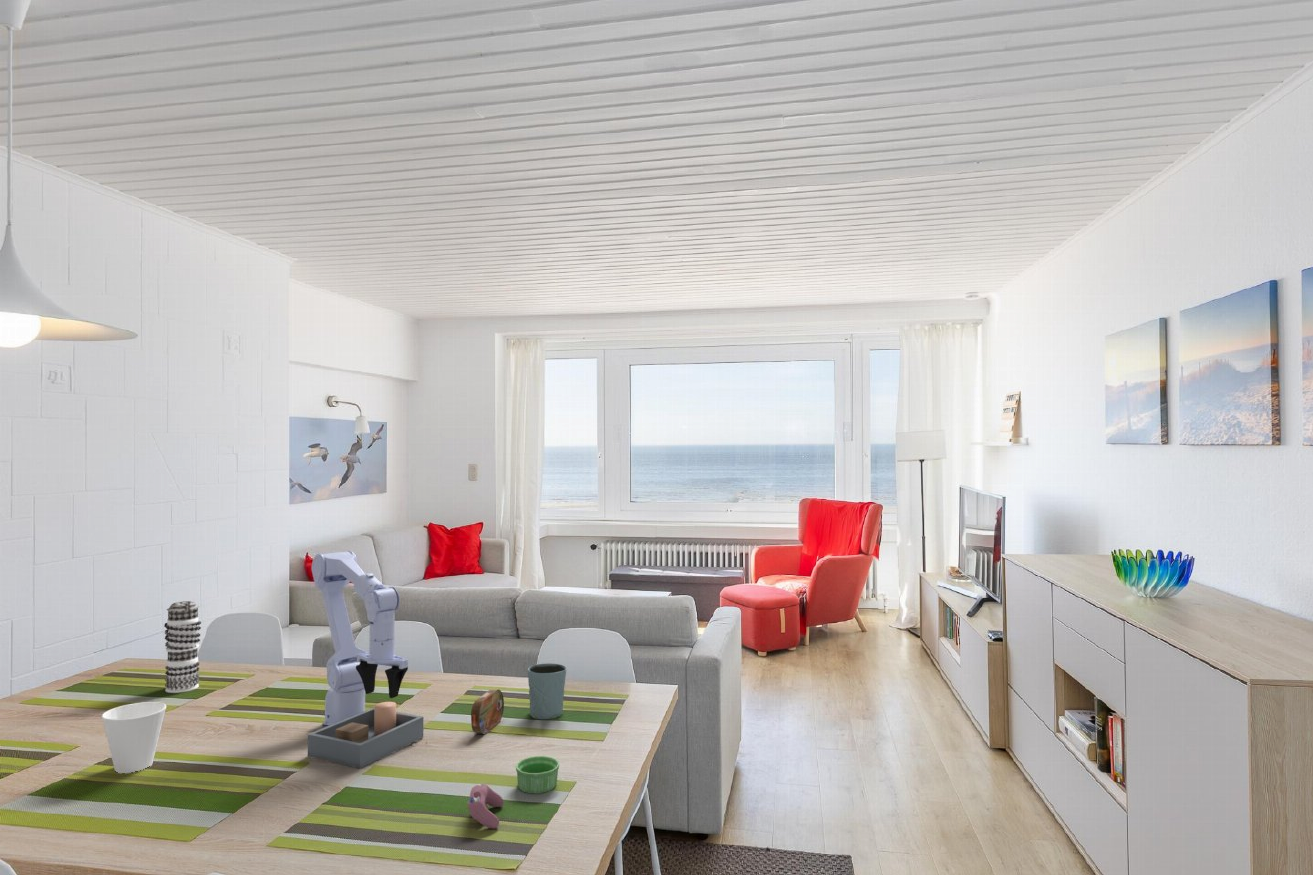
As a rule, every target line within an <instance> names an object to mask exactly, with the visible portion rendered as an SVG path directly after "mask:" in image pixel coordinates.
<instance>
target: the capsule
mask: <svg viewBox="0 0 1313 875" xmlns="http://www.w3.org/2000/svg"><path fill="white" fill-rule="evenodd" d="M373 708H374V736H378V735H380V734H382V733H384V732H386V731H389V730H391V729H393V728H395V727H396V712H397V703H396V702H394V701H382V702H378V703H376V704H375V705H374V707H373Z"/></svg>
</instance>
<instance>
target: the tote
mask: <svg viewBox="0 0 1313 875" xmlns="http://www.w3.org/2000/svg"><path fill="white" fill-rule="evenodd" d="M352 722H353V723H358V724H363V725H369V731H368V740H366V741H364V742H362V743H357V742H352V741H348V740H343V739H338V738H335V729H338V728H340V727H342V726H345V725H347V724H350V723H352ZM423 738H424V716H420V715H416V714H411V713H405V712H399V711H396V727H395V728H393V729H391V730H389V731H386V732H384V733H382V734H380V735H378V736H374V707H371V708H369V709H367V710H366V709H365V711H364V712H362V713H359V714H357V715H354V716H352V717H349V718H347V719H344V720H342V721H339V722H337V723H334V724H332V725H330V726H329V725H326V726H325V727H323V728H320V729H317V730H315V731H312V732H310V733H308V734H307V757H309V758H313V759H317V760H322V761H326V762H329V763H334V764H337V765H338V764H340V765H343V766H347V767H352V768H357V769H362V768H364V767H366V766H369V765H370V764H372V763H375V762H377V761H378V760H381V759H382V758H385V757H387V756H388V755H391V754H392V753H394V752H397V751H398V750H401V749H402V748H404V747H408V745H411V744H413V743H415V742H417V741H419V740H421V739H423Z"/></svg>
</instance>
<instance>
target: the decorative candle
mask: <svg viewBox="0 0 1313 875" xmlns="http://www.w3.org/2000/svg"><path fill="white" fill-rule="evenodd" d="M199 608H200V607H199V605H197V604H196V602H194V601H191V600H188V601H186V600H185V601H184V600H183V601H178V602H174V603H172V604H171V605H169V608H167V609H166V611H167V617H168V618H167V621H166V622H165V623H164V626H163V627H164V628H165V629H166V630H164V635H165V637H164V639H165V640H166V642H165V646H164V647H166V648H165V651H166V652H167V659H166V666H165V670H166V671H165V672H164V673H165V675H166V677H165V678H164V681H165V684H164V686H165V687H166V688H165V692H166V693H167V694H168V693H169V694H170V693H172V694H177V693H179V694H180V693H186V692H190V691H194V690H196V689H198V688H199V687H200V684H199V683H200V679H199V678H200V673H199V671H200V667H198V666H200V662H199V656H198V648H200V644H199V642H201V639H200V638H199V637H201V633H199V632H198V631H200V630H201V629H202V627H201V626H200V625H201V624H202V622H201V621H200V620H199V619H200V618H199Z"/></svg>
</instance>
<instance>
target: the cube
mask: <svg viewBox="0 0 1313 875" xmlns="http://www.w3.org/2000/svg"><path fill="white" fill-rule="evenodd" d="M368 731H369V725H363V724H358V723H353V722H352V723H350V724H347V725H345V726H342V727H340V728H338V729H335V738H338V739H343V740H348V741H352V742H357V743H362V742H364V741H366V740H368Z"/></svg>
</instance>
